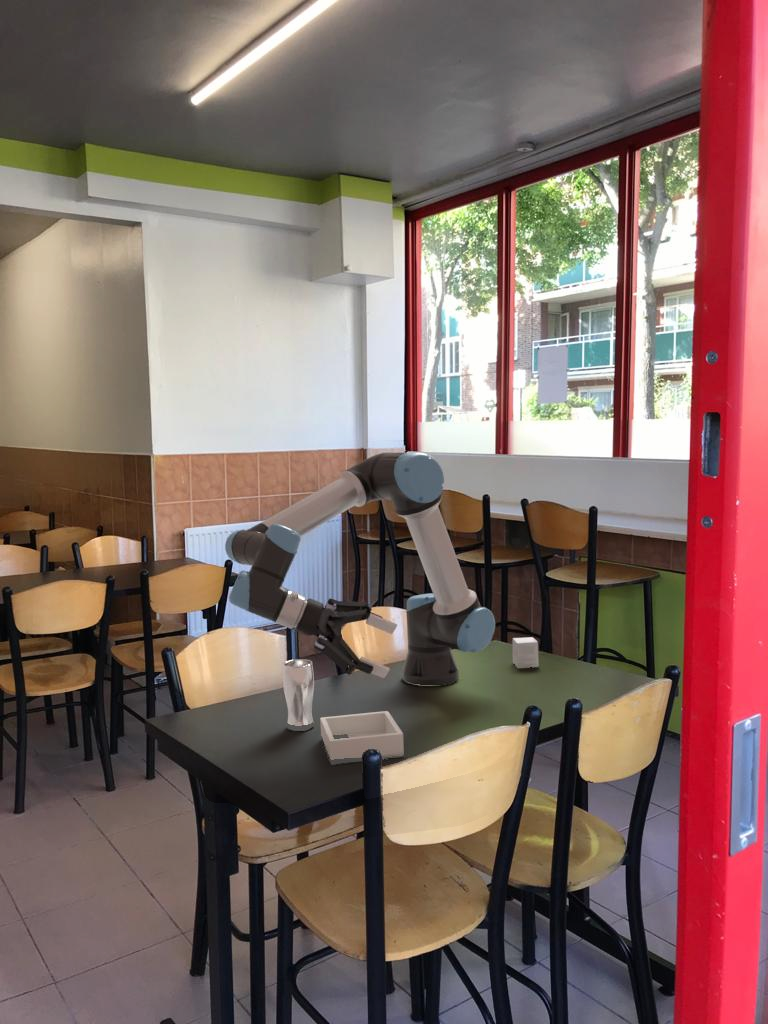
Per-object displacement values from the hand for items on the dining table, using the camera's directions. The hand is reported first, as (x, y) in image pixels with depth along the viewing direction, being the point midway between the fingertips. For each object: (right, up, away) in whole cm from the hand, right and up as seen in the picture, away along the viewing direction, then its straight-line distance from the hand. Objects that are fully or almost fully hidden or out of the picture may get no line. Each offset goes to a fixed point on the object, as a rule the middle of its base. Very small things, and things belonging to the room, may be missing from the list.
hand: (391, 650), depth 184 cm
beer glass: (-20, -19, +9) cm, 30 cm away
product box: (+38, -13, +55) cm, 68 cm away
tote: (-6, -20, -5) cm, 21 cm away
